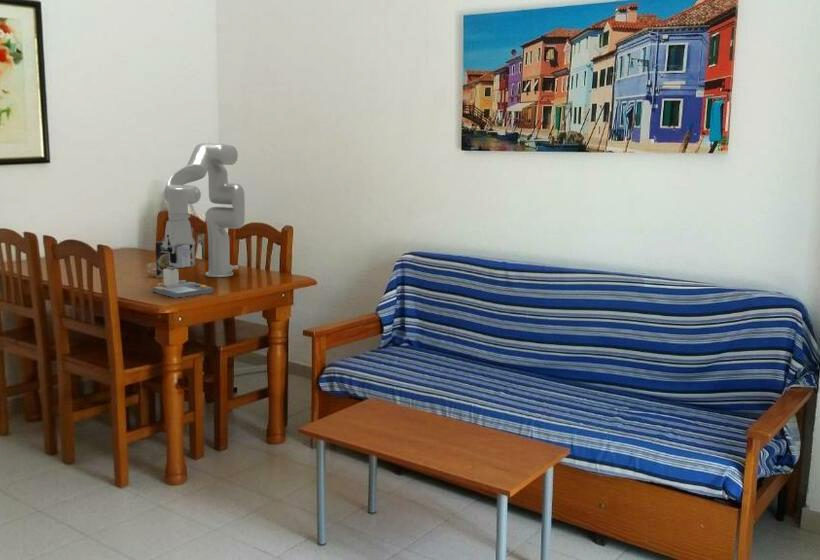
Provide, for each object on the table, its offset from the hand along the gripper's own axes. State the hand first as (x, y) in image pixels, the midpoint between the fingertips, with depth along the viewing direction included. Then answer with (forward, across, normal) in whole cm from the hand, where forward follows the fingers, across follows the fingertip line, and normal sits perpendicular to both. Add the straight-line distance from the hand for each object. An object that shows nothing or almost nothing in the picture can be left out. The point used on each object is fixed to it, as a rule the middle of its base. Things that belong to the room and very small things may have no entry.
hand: (179, 261), depth 328 cm
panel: (+14, -3, -3) cm, 14 cm away
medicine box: (+2, 0, 0) cm, 2 cm away
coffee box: (+14, -17, -37) cm, 43 cm away
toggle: (+11, -1, -8) cm, 14 cm away
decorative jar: (+14, -36, -57) cm, 69 cm away
